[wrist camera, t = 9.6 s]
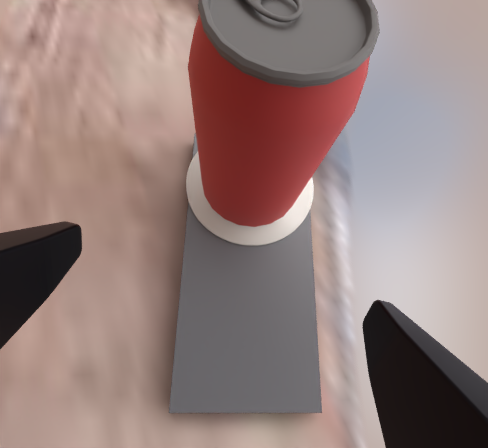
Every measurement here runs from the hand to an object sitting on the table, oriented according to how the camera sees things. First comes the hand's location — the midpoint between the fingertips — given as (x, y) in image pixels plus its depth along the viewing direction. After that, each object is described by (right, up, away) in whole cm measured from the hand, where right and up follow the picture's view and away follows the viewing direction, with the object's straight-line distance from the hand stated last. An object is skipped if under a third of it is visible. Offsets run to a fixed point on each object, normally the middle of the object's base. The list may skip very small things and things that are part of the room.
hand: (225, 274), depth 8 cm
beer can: (+1, +4, +11) cm, 12 cm away
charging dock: (+1, -1, +11) cm, 11 cm away
